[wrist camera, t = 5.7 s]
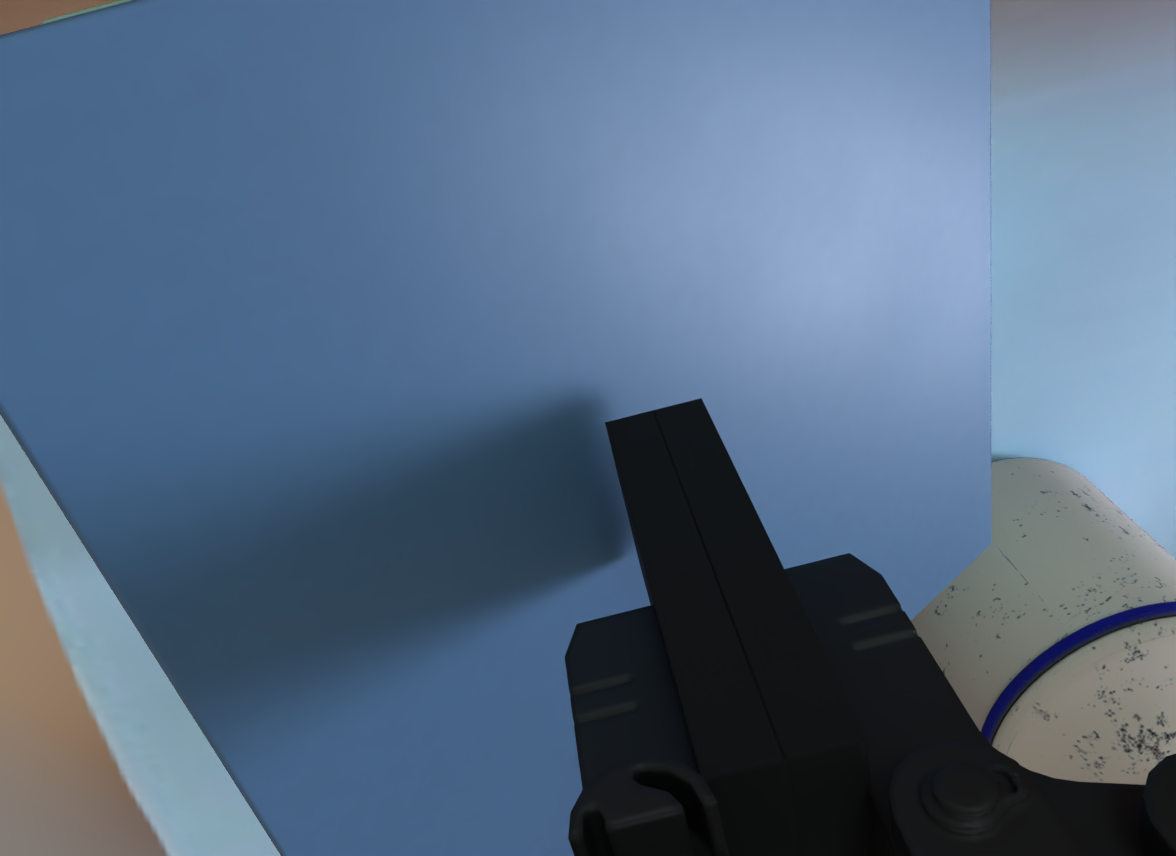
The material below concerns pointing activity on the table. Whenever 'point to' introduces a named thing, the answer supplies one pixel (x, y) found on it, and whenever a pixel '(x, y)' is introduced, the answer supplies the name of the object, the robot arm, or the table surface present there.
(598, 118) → the lunchbox lid
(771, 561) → the robot arm
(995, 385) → the table surface
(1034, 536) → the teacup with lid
